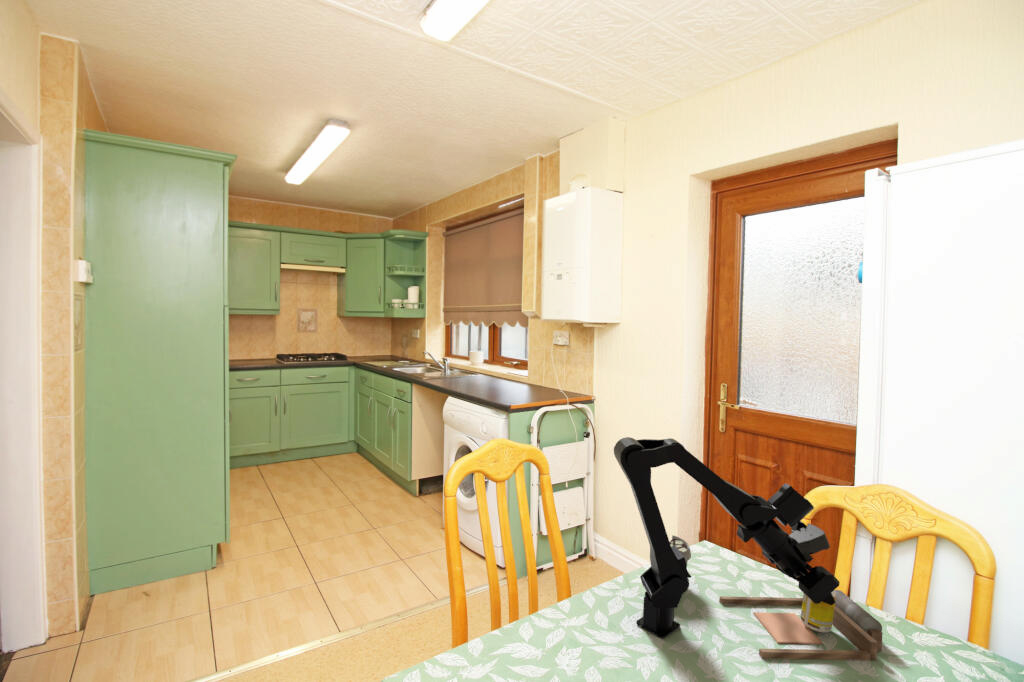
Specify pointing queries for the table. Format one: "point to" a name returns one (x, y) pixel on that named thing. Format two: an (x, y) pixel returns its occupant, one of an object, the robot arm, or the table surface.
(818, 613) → the supplement bottle
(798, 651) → the frame
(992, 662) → the table surface
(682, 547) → the food container
